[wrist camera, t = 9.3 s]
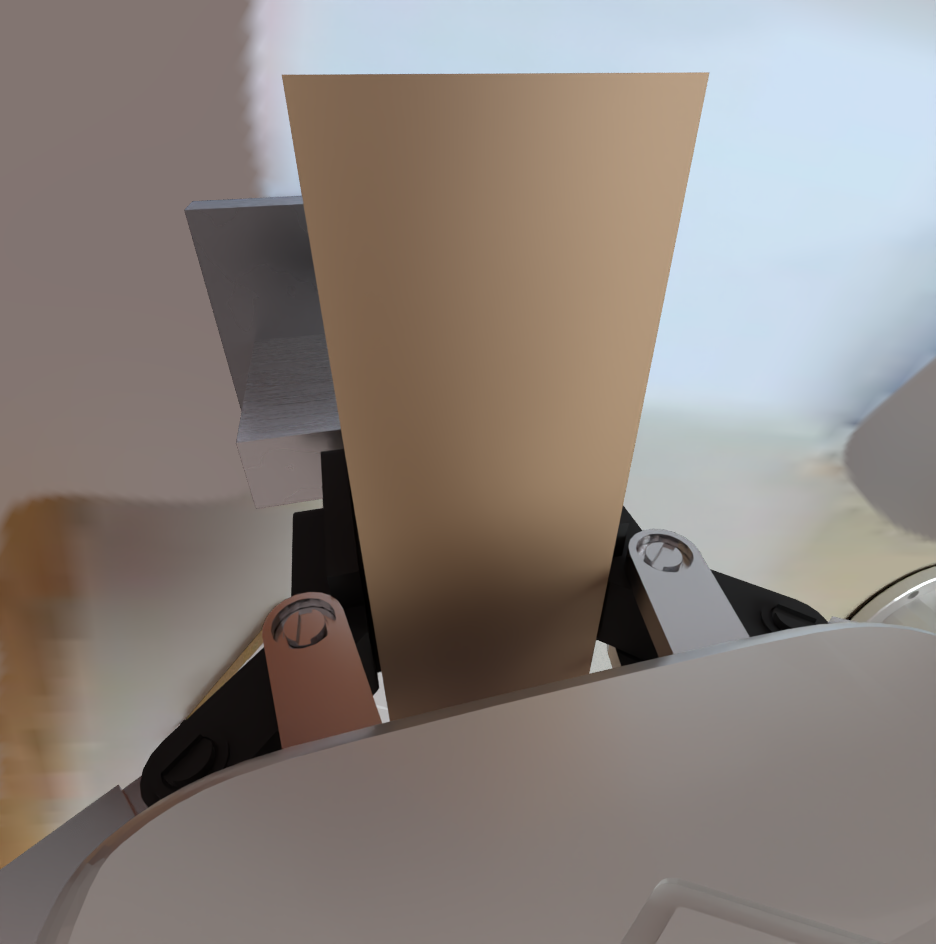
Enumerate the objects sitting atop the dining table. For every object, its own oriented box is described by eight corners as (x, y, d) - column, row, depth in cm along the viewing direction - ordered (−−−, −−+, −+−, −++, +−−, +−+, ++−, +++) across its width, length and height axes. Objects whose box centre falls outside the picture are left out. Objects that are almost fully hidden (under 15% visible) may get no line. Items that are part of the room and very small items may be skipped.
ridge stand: (533, 185, 19) (651, 234, 12) (519, 432, 25) (595, 553, 18) (192, 201, 17) (126, 271, 10) (265, 468, 22) (252, 618, 16)
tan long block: (534, 79, 9) (709, 71, 5) (505, 660, 18) (560, 815, 14) (291, 81, 8) (282, 75, 4) (387, 686, 18) (412, 858, 14)
